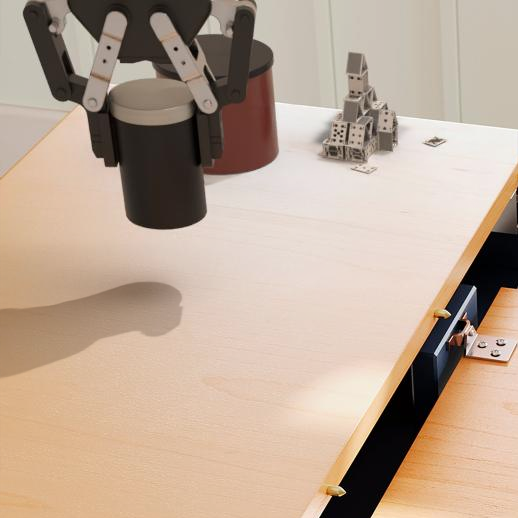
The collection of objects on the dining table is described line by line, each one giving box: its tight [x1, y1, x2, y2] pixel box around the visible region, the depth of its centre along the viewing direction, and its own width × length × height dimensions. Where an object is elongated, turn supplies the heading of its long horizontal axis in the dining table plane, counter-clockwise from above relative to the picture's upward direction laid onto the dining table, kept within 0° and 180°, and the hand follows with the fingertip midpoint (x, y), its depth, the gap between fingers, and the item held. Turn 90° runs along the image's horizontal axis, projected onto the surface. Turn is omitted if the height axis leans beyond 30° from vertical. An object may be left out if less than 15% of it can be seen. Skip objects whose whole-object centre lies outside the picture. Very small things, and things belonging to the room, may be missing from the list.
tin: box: [151, 33, 280, 176], centre depth 124 cm, size 9×9×8 cm
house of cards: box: [322, 51, 448, 174], centre depth 126 cm, size 9×9×8 cm
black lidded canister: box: [108, 77, 208, 231], centre depth 100 cm, size 5×5×8 cm
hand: (160, 161), depth 100 cm, fingers closed on black lidded canister, 5 cm apart
